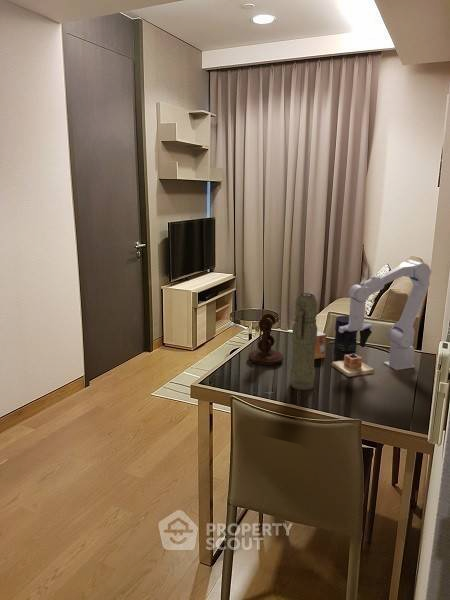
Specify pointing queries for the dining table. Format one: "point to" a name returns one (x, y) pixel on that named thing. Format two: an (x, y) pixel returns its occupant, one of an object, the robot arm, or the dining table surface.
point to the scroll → (266, 344)
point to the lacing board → (352, 372)
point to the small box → (320, 345)
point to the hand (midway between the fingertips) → (354, 347)
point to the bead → (352, 361)
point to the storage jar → (338, 339)
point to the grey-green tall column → (304, 342)
